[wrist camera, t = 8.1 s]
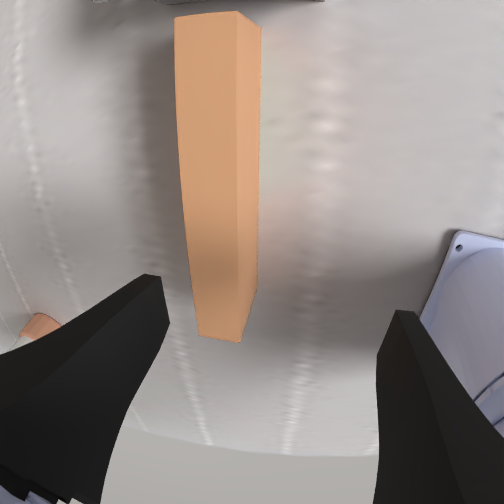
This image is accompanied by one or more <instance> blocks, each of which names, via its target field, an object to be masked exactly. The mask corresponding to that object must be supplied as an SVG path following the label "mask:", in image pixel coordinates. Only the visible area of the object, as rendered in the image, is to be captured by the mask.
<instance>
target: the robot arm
mask: <svg viewBox="0 0 504 504" xmlns="http://www.w3.org/2000/svg"><path fill="white" fill-rule="evenodd" d="M460 244H461V246H460V247H459V248H457V249H455V248H456V246H457V245H460ZM169 324H170V321H169V316H168V311H167V306H166V302H165V297H164V292H163V286H162V281H161V277H160V276H154V275H149V274H143V275H141V276H139V277H138V278H136V279H134V280H133V281H131V282H130V283H128V284H127V285H125V286H124V287H122V288H121V289H119V290H118V291H116V292H115V293H113V294H112V295H110V296H109V297H107V298H106V299H104V300H103V301H101V302H100V303H98V304H97V305H95V306H94V307H92V308H91V309H89V310H87V311H86V312H84V313H82V314H81V315H79V316H78V317H76V318H74V319H73V320H71V321H70V322H68V323H66V324H65V325H63V326H61V327H59V328H58V329H56V330H54V331H52V332H50V333H48V334H46V335H44V336H43V337H41V338H39V339H37V340H35V341H32V342H30V343H28V344H25V345H23V346H21V347H18V348H16V349H14V350H11V351H9V352H6V353H3V354H1V355H0V504H56V503H57V501H58V499H60V500H61V501H63V502H65V503H66V504H69V503H70V501H71V499H72V498H74V499H76V500H78V501H79V502H81V503H83V504H100V501H101V495H102V490H103V486H104V481H105V476H106V473H107V468H108V465H109V461H110V458H111V454H112V451H113V448H114V445H115V442H116V439H117V436H118V433H119V430H120V428H121V425H122V423H123V420H124V417H125V415H126V412H127V410H128V408H129V406H130V404H131V401H132V400H133V398H134V396H135V394H136V392H137V390H138V388H139V387H140V385H141V383H142V381H143V379H144V378H145V376H146V374H147V372H148V370H149V368H150V367H151V365H152V363H153V361H154V359H155V357H156V356H157V354H158V352H159V350H160V348H161V345H162V343H163V340H164V338H165V335H166V332H167V330H168V327H169ZM376 393H377V408H378V426H379V463H378V473H377V481H376V488H375V494H374V500H373V504H504V240H502V239H498V238H493V237H489V236H484V235H480V234H475V233H471V232H466V231H458V232H456V233H455V235H454V236H453V239H452V242H451V245H450V247H449V250H448V253H447V255H446V258H445V261H444V263H443V266H442V268H441V271H440V273H439V276H438V278H437V280H436V283H435V285H434V287H433V290H432V292H431V294H430V296H429V299H428V301H427V303H426V305H425V307H424V310H423V312H422V314H421V316H420V318H418V316H417V315H416V314H415V312H412V311H402V310H396V311H395V313H394V316H393V318H392V321H391V323H390V326H389V328H388V331H387V333H386V335H385V338H384V340H383V342H382V344H381V347H380V349H379V351H378V353H377V366H376Z"/></svg>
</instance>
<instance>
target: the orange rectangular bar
mask: <svg viewBox="0 0 504 504" xmlns="http://www.w3.org/2000/svg"><path fill="white" fill-rule="evenodd" d="M174 51H175V93H176V117H177V135H178V151H179V165H180V178H181V190H182V202H183V212H184V222H185V232H186V241H187V250H188V259H189V267H190V275H191V283H192V290H193V298H194V305H195V312H196V319H197V325H198V332H199V336H204V337H209V338H215V339H220V340H225V341H231V342H237V343H240V341H241V338H242V334H243V331H244V328H245V325H246V322H247V319H248V316H249V312H250V309H251V306H252V303H253V300H254V297H255V294H256V290H257V249H258V203H259V152H260V93H261V28H260V27H259V26H258V25H256V24H255V23H254V22H252V21H251V20H249V19H248V18H247V17H245V16H244V15H242V14H241V13H239V12H238V11H227V12H214V13H204V14H195V15H188V16H181V17H174Z"/></svg>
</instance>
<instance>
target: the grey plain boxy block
mask: <svg viewBox="0 0 504 504" xmlns="http://www.w3.org/2000/svg"><path fill="white" fill-rule="evenodd" d="M92 1H93V2H94V3H95V4H99V3H103V2H106V1H109V0H92ZM155 1H159V2H162V3H165V4H168V5H173V4H180V3H187V2H196V1H206V0H155ZM314 1H324V2H325V0H314Z"/></svg>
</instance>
